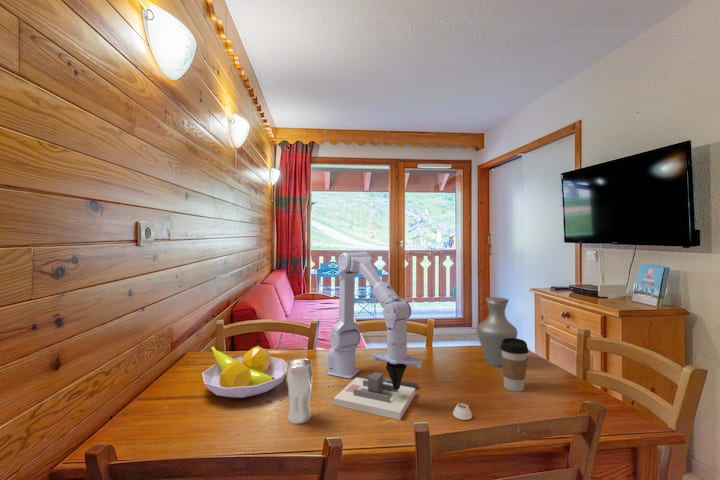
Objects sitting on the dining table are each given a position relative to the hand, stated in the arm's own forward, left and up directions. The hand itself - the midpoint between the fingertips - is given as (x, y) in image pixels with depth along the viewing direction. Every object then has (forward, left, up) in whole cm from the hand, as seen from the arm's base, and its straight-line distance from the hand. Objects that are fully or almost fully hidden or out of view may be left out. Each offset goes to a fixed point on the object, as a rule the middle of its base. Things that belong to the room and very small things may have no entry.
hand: (396, 388), depth 100 cm
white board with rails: (-7, +3, -5) cm, 8 cm away
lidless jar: (+18, +1, -5) cm, 19 cm away
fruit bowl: (-49, -9, -5) cm, 50 cm away
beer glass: (-22, -18, -5) cm, 29 cm away
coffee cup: (+31, +26, -5) cm, 41 cm away
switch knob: (-7, 0, -2) cm, 7 cm away
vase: (+25, +46, -5) cm, 53 cm away
